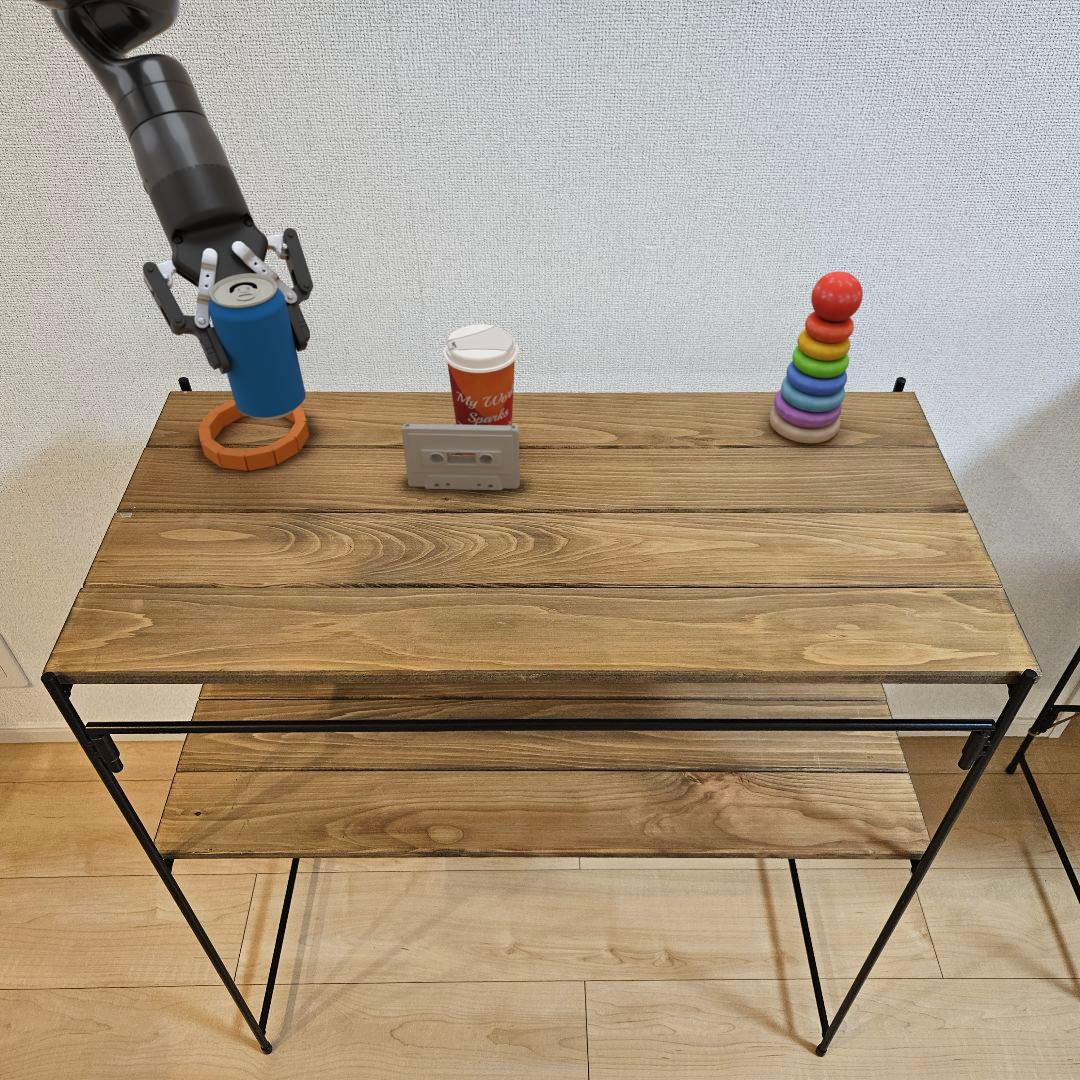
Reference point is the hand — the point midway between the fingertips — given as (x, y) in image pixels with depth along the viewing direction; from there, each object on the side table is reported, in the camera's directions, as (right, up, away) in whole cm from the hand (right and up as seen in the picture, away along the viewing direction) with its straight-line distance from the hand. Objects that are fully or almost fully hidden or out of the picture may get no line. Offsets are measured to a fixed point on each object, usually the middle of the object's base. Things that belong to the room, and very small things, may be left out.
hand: (265, 359), depth 79 cm
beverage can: (-1, -3, +5) cm, 6 cm away
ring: (-8, -5, +22) cm, 24 cm away
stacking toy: (+55, -3, +24) cm, 60 cm away
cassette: (+16, -10, +16) cm, 25 cm away
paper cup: (+19, -6, +20) cm, 28 cm away
